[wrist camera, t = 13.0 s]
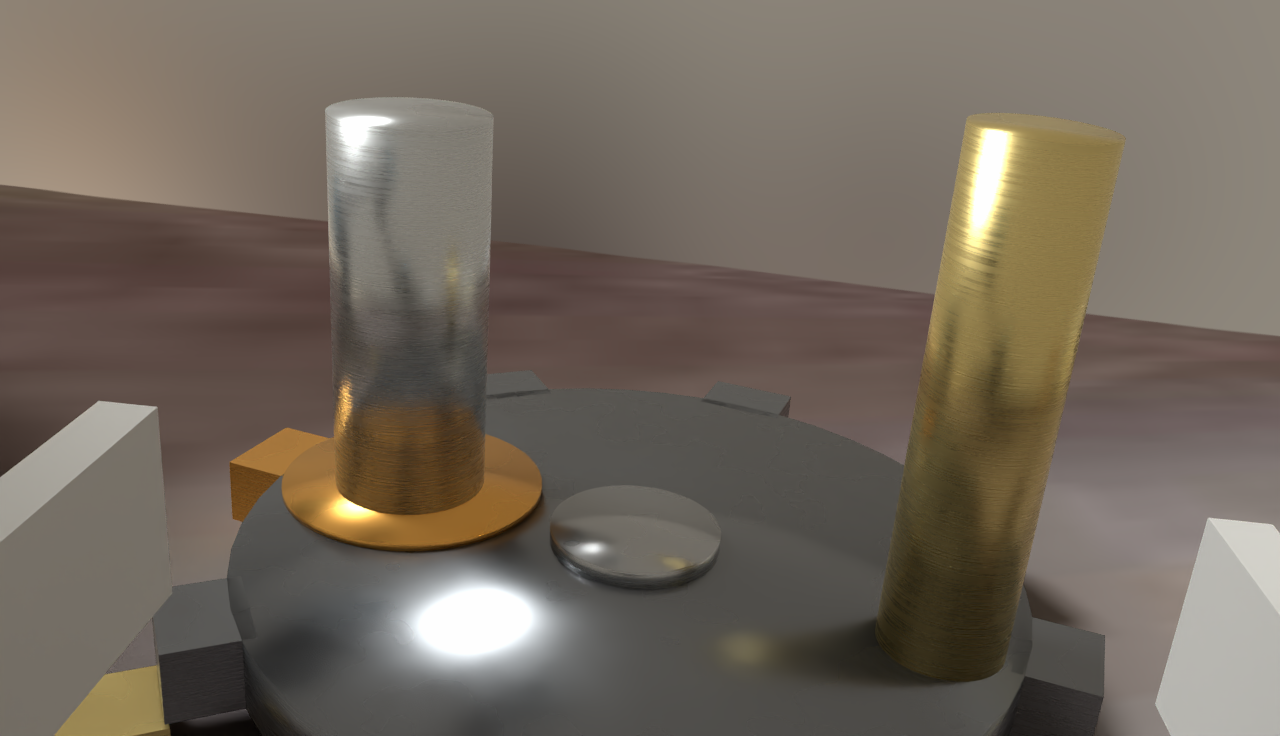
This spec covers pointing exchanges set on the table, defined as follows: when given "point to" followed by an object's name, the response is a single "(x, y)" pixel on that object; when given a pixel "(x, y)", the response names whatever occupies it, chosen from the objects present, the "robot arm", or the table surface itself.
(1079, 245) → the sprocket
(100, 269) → the table surface
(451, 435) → the roller
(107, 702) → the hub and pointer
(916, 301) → the table surface
